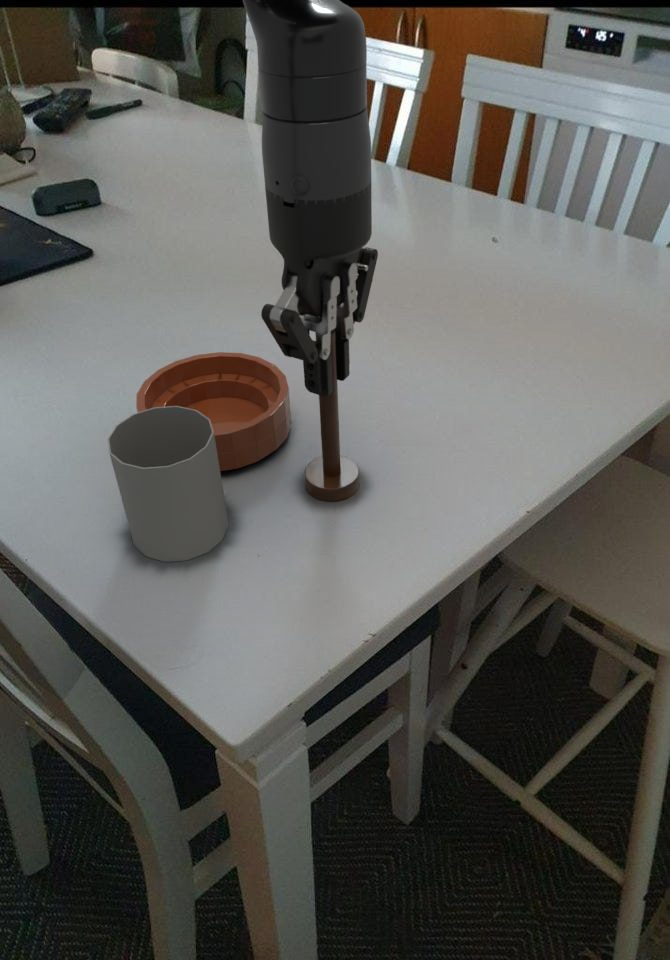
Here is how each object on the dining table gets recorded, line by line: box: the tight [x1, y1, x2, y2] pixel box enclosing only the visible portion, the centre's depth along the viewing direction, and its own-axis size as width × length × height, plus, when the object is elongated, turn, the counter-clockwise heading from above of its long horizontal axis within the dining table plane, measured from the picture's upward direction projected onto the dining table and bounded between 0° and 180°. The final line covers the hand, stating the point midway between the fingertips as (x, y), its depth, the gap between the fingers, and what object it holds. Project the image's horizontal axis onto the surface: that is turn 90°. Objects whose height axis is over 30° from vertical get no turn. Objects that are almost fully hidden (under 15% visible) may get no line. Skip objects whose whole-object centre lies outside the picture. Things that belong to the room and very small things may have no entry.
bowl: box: [135, 351, 292, 472], centre depth 80 cm, size 15×15×5 cm
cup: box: [107, 406, 230, 563], centre depth 68 cm, size 8×8×10 cm
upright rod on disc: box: [304, 329, 361, 502], centre depth 70 cm, size 5×5×16 cm
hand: (327, 383), depth 68 cm, fingers closed
